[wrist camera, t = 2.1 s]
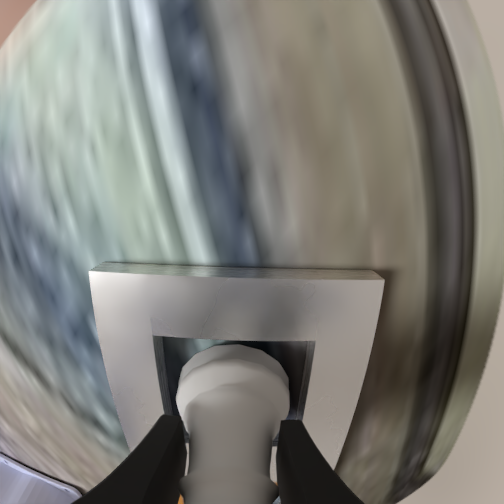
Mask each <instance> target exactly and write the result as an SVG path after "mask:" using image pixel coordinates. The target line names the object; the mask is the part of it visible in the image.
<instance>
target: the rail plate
mask: <svg viewBox="0 0 504 504" xmlns="http://www.w3.org/2000/svg"><path fill="white" fill-rule="evenodd" d="M89 278H90V287H91V294H92V301H93V308H94V314H95V320H96V326H97V331H98V336H99V341H100V346H101V351H102V356H103V360H104V364H105V369H106V373H107V377H108V381H109V385H110V388H111V392H112V396H113V399H114V403H115V406H116V410H117V413H118V416H119V419H120V422H121V426H122V429H123V432H124V434H125V437H126V440H127V443H128V446H129V449H130V451H131V452H132V451H133V450H134V449H135V448H136V447H137V445H138V444H139V443H140V442H141V441H142V440H143V438H144V437H145V436H146V435H147V433H148V432H149V431H150V430H151V428H152V427H153V426H154V424H155V423H156V421H157V420H158V419H159V417H160V416H161V415H163V414H165V415H173V412H172V406H171V399H170V393H169V386H168V379H167V372H166V364H165V356H164V347H163V338H162V336H167V337H180V338H195V339H214V340H240V341H307V348H306V356H305V363H304V370H303V377H302V383H301V390H300V396H299V402H298V408H297V414H296V420H299V419H300V420H301V421H302V422H303V424H304V426H305V428H306V429H307V431H308V433H309V435H310V437H311V438H312V440H313V442H314V443H315V445H316V446H317V448H318V449H319V451H320V452H321V454H322V455H323V457H324V458H325V459H326V461H327V462H328V463H329V465H330V466H331V467H332V469H333V470H334V468H335V466H336V463H337V461H338V458H339V456H340V453H341V450H342V447H343V445H344V442H345V439H346V436H347V433H348V430H349V427H350V424H351V421H352V418H353V415H354V412H355V409H356V405H357V402H358V399H359V395H360V392H361V388H362V385H363V381H364V377H365V373H366V370H367V366H368V362H369V358H370V353H371V349H372V345H373V340H374V336H375V331H376V326H377V321H378V316H379V311H380V306H381V300H382V295H383V289H384V282H385V280H384V279H383V278H382V277H380V276H379V275H378V274H376V273H375V272H374V271H372V270H333V269H284V268H245V267H213V266H184V265H157V264H133V263H111V262H103V263H101V264H99V265H98V266H96V267H94V268H93V269H91V270H90V271H89ZM183 431H184V437H185V443H186V449H187V461H186V469H185V476H186V475H187V472H188V466H189V433H188V432H187V431H186V429H185V425H183ZM278 437H279V432H278V433H277V435H276V437H275V439H274V440H273V445H272V455H271V464H270V478H271V480H272V481H273V482H274V483H275V484H276V485H277V474H276V451H277V444H278ZM277 486H278V485H277ZM178 504H184V498H183V497H182V496H181V494H180V497H179V501H178ZM278 504H281V501H280V499H279V503H278Z"/></svg>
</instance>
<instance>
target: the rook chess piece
mask: <svg viewBox="0 0 504 504" xmlns="http://www.w3.org/2000/svg"><path fill="white" fill-rule="evenodd" d="M178 385H179V387H178V391H177V395H176V402H177V407H178V410H179V413H180V416H181V418H182V420H183V422H184V425H185V429H186V431H187V432H188V433H189V466H188V472H187V475H186V476H184V477H183V478H181V479H180V481H179V484H178V487H177V488H178V490H179V492H180V494H181V496H182V497H183V498H184V504H272V503H273V502H274V501H275V500H276V499H277V497H278V496H279V487H278V486H277V485H276V484H275V483H274V482H273V481H272V480H271V478H270V464H271V455H272V445H273V440H274V439H275V437H276V435H277V433H278V432H279V430H280V423H281V420H285V419H286V417H287V415H288V412H289V408H290V400H289V380H288V376H287V375H286V373H285V371H284V370H283V368H282V366H281V365H280V363H279V362H278V361H276V360H275V359H274V358H272V357H271V356H269V355H268V354H266V353H265V352H263V351H262V350H259V349H255V348H251V347H247V346H243V345H240V344H236V345H219V346H213V347H211V348H209V349H206V350H204V351H201V352H199V353H197V354H195V355H194V356H193V357H192V358H191V359H190V360H189V361H188V362H187V363H186V364H185V365H184V366H183V367H182V371H181V375H180V378H179V382H178Z"/></svg>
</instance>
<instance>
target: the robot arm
mask: <svg viewBox="0 0 504 504" xmlns="http://www.w3.org/2000/svg"><path fill="white" fill-rule="evenodd" d="M186 461H187V449H186V443H185V437H184V431H183V425H182V418H181V416H174V415H165V414H163V415H161V416H160V417H159V419H158V420H157V421H156V423H155V424H154V426H153V427H152V428H151V430H150V431H149V432H148V433H147V435H146V436H145V437H144V438H143V440H142V441H141V442H140V443H139V444H138V445H137V447H136V448H135V449H134V450H133V451H132V452H131V453H130V455H129V456H128V457H127V458H126V459H125V460H124V461H123V462H122V463H121V464H120V465H119V466H118V467H117V468H116V469H115V470H114V471H113V472H112V473H111V474H110V475H108V476H107V477H106V478H105V479H104V480H103V481H102V482H100V483H99V484H98V485H97V486H95V487H94V488H93V489H91V490H90V491H89V492H87V493H86V494H85V495H83V496H82V495H81V494H80V492H79V491H78V490H77V489H76V488H74V487H72V486H69V485H67V484H64V483H61V482H59V481H56V480H54V479H52V478H49V477H47V476H45V475H42V474H40V473H38V472H36V471H34V470H31V469H29V468H27V467H25V466H23V465H21V464H19V463H17V462H15V461H13V460H12V459H10V458H8V457H6V456H4V455H2V454H1V453H0V504H178V501H179V497H180V492H179V490H178V488H177V487H178V484H179V481H180V479H181V478H183V477H184V476H185V469H186ZM276 474H277V485H278V487H279V496H280V501H281V504H364V503H363V502H362V501H361V500H360V499H359V498H358V497H357V496H356V495H355V494H354V493H353V492H352V491H351V490H350V489H349V488H348V487H347V485H346V484H345V483H344V482H343V481H342V480H341V479H340V478H339V476H338V475H337V474H336V473H335V471H334V470H333V469H332V467H331V466H330V465H329V463H328V462H327V461H326V459H325V458H324V457H323V455H322V454H321V452H320V451H319V449H318V448H317V446H316V445H315V443H314V442H313V440H312V438H311V437H310V435H309V433H308V431H307V429H306V428H305V426H304V424H303V422H302V421H301V420H300V419H299V420H281V423H280V430H279V437H278V444H277V451H276Z"/></svg>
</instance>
